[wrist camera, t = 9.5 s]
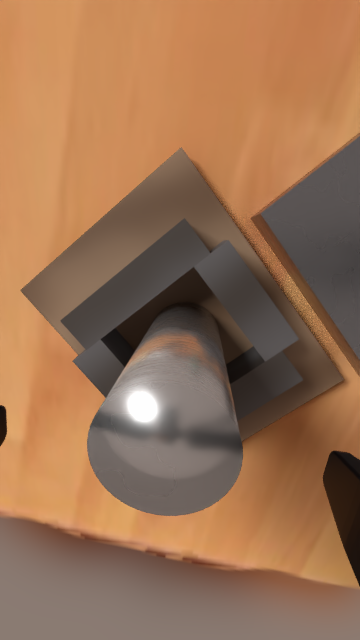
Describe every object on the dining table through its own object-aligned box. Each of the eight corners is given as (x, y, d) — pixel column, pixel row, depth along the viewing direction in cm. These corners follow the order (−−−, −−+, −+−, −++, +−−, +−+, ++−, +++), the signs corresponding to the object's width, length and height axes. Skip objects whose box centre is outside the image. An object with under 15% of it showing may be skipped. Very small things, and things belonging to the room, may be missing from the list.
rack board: (336, 372, 18) (368, 401, 15) (186, 464, 21) (185, 507, 17) (182, 153, 15) (178, 127, 12) (29, 287, 18) (-10, 297, 14)
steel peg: (232, 341, 17) (274, 470, 7) (179, 378, 18) (153, 537, 8) (191, 287, 16) (176, 350, 7) (137, 328, 17) (56, 436, 7)
